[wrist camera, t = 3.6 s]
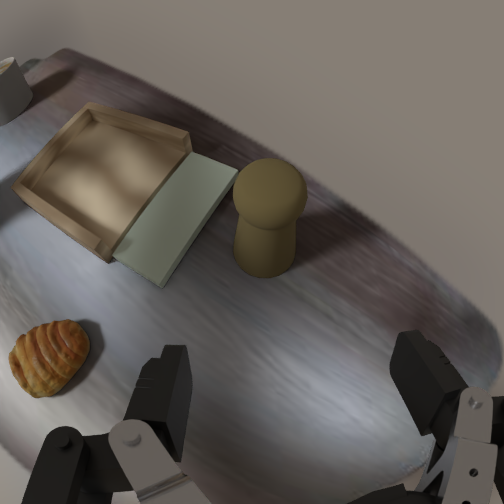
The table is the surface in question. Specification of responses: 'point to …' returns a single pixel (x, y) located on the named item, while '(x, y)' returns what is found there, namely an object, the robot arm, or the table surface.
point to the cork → (267, 216)
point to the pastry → (49, 357)
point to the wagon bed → (101, 174)
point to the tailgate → (175, 218)
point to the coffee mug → (12, 91)
